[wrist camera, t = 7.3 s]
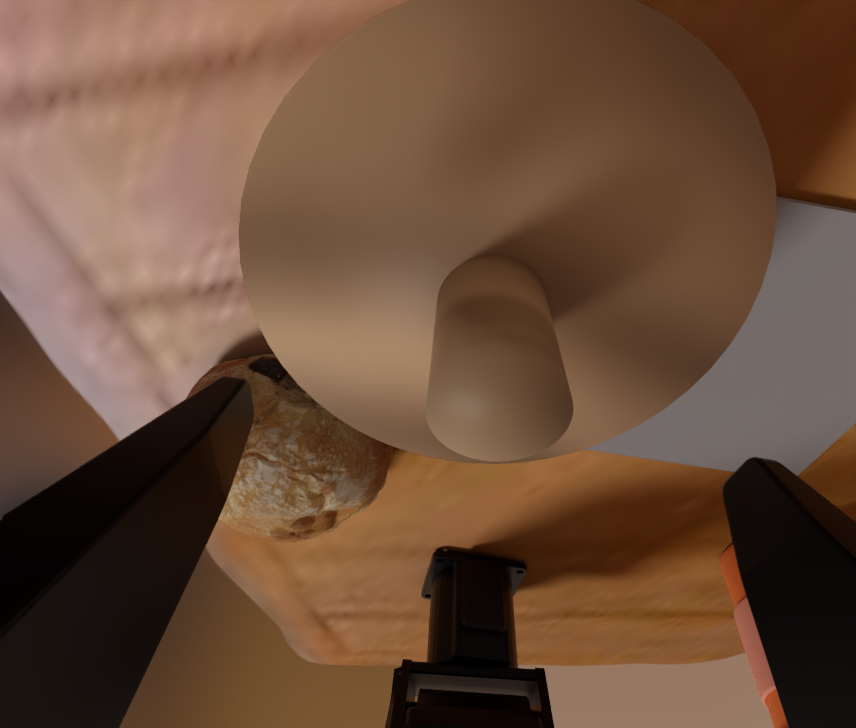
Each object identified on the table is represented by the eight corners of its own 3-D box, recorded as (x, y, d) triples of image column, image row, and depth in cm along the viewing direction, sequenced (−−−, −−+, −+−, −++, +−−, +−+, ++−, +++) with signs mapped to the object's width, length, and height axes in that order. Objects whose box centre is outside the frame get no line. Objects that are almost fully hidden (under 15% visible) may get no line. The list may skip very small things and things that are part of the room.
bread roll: (400, 333, 24) (370, 371, 16) (403, 505, 27) (378, 608, 19) (222, 331, 25) (112, 367, 17) (241, 498, 27) (153, 595, 20)
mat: (787, 474, 24) (792, 480, 23) (543, 436, 23) (544, 442, 23) (1036, 242, 15) (1048, 247, 15) (665, 176, 15) (670, 179, 15)
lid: (618, 460, 17) (664, 603, 13) (274, 408, 17) (212, 540, 13) (891, 45, 9) (1242, 88, 5) (225, -84, 8) (-2, -155, 4)
